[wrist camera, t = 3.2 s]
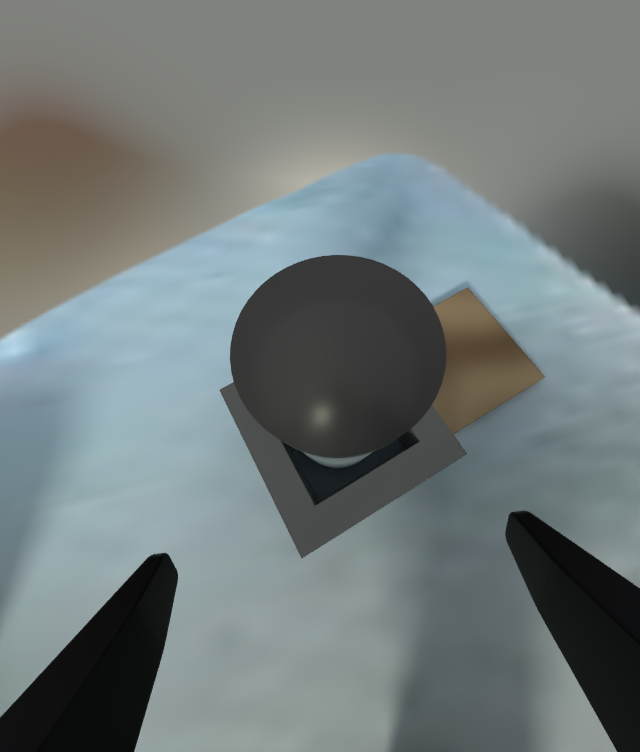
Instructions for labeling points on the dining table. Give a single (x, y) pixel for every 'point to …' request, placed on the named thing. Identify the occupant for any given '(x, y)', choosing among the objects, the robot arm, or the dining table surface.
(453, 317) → the mat
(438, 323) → the ball
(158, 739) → the dining table surface
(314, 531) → the frame
